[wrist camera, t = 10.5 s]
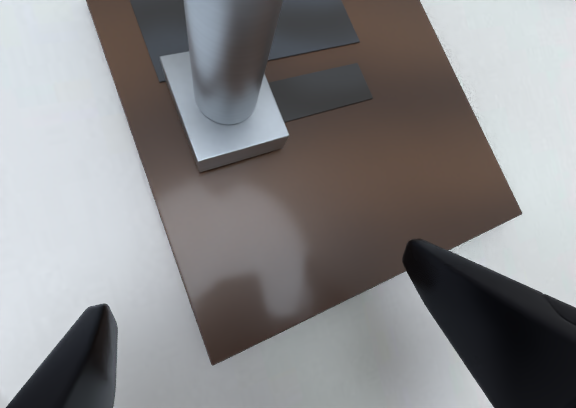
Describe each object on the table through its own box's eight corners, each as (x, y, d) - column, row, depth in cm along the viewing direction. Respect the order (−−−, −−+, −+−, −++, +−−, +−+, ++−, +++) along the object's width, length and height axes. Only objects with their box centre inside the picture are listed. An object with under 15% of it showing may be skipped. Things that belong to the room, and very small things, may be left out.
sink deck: (501, 217, 20) (524, 213, 19) (212, 357, 15) (211, 367, 13) (383, -33, 22) (395, -55, 21) (89, 2, 17) (77, -25, 15)
